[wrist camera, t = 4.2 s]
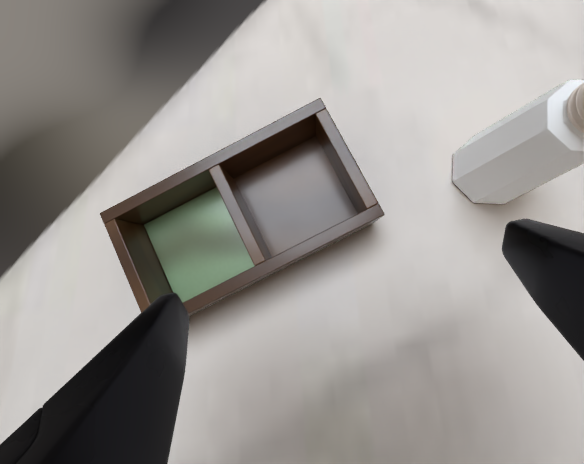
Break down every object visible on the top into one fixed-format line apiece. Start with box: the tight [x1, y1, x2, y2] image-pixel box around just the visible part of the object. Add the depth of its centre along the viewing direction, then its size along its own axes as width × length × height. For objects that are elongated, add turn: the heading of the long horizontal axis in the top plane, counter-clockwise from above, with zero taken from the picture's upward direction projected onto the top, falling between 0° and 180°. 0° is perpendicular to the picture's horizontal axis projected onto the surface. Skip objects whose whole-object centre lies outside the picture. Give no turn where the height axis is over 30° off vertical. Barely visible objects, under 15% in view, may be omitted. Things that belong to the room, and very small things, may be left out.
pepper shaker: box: [452, 80, 584, 204], centre depth 17 cm, size 5×5×11 cm
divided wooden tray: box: [100, 98, 384, 316], centre depth 22 cm, size 9×16×4 cm, turn 117°
